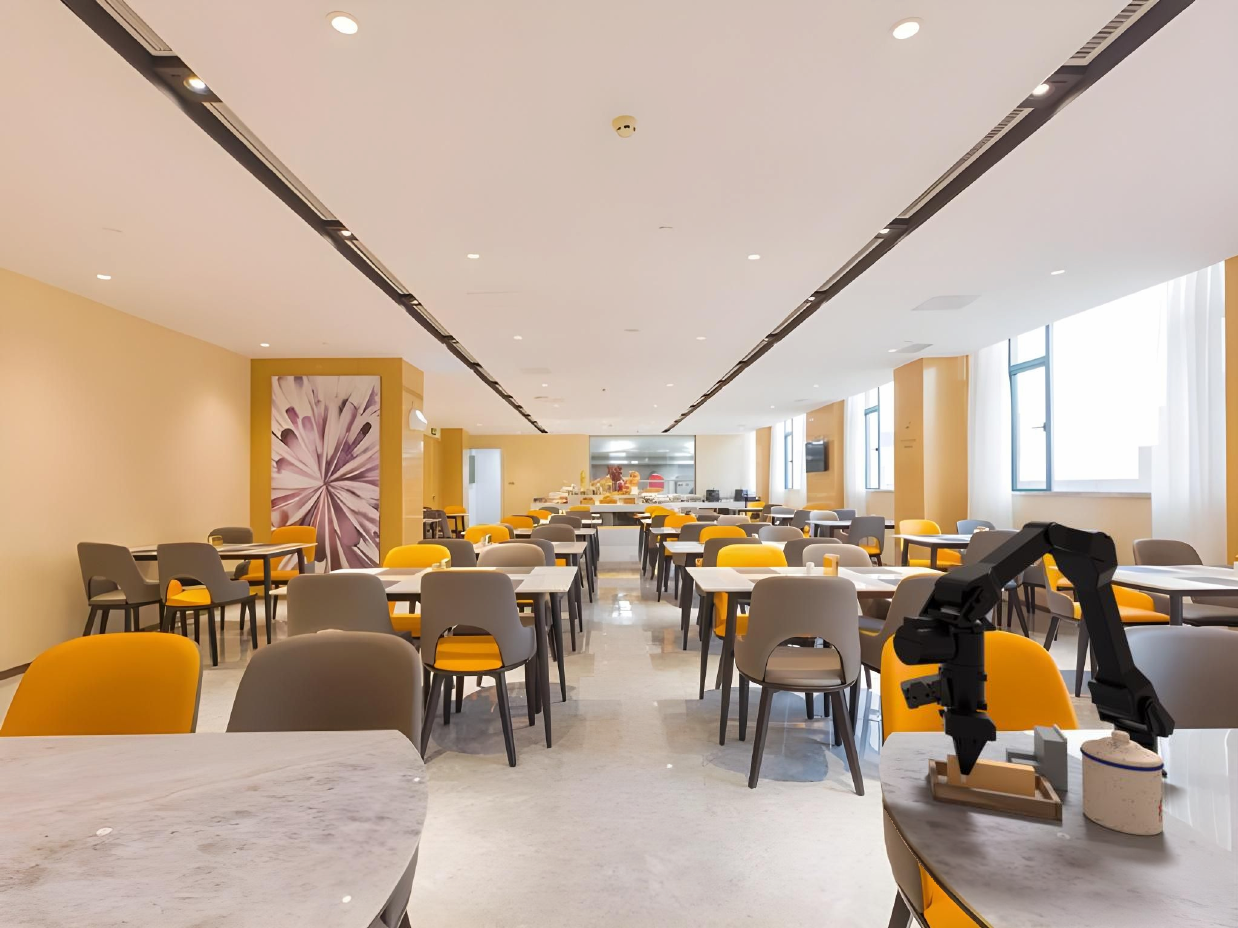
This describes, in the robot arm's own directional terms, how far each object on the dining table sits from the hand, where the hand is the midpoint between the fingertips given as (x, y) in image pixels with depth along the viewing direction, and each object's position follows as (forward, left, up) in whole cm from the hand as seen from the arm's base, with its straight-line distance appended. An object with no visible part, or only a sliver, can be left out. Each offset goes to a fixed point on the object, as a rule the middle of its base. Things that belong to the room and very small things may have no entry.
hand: (963, 769), depth 100 cm
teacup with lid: (+1, +18, -3) cm, 19 cm away
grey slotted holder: (-10, +11, -3) cm, 15 cm away
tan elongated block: (0, +3, -2) cm, 4 cm away
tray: (0, +3, -3) cm, 5 cm away
